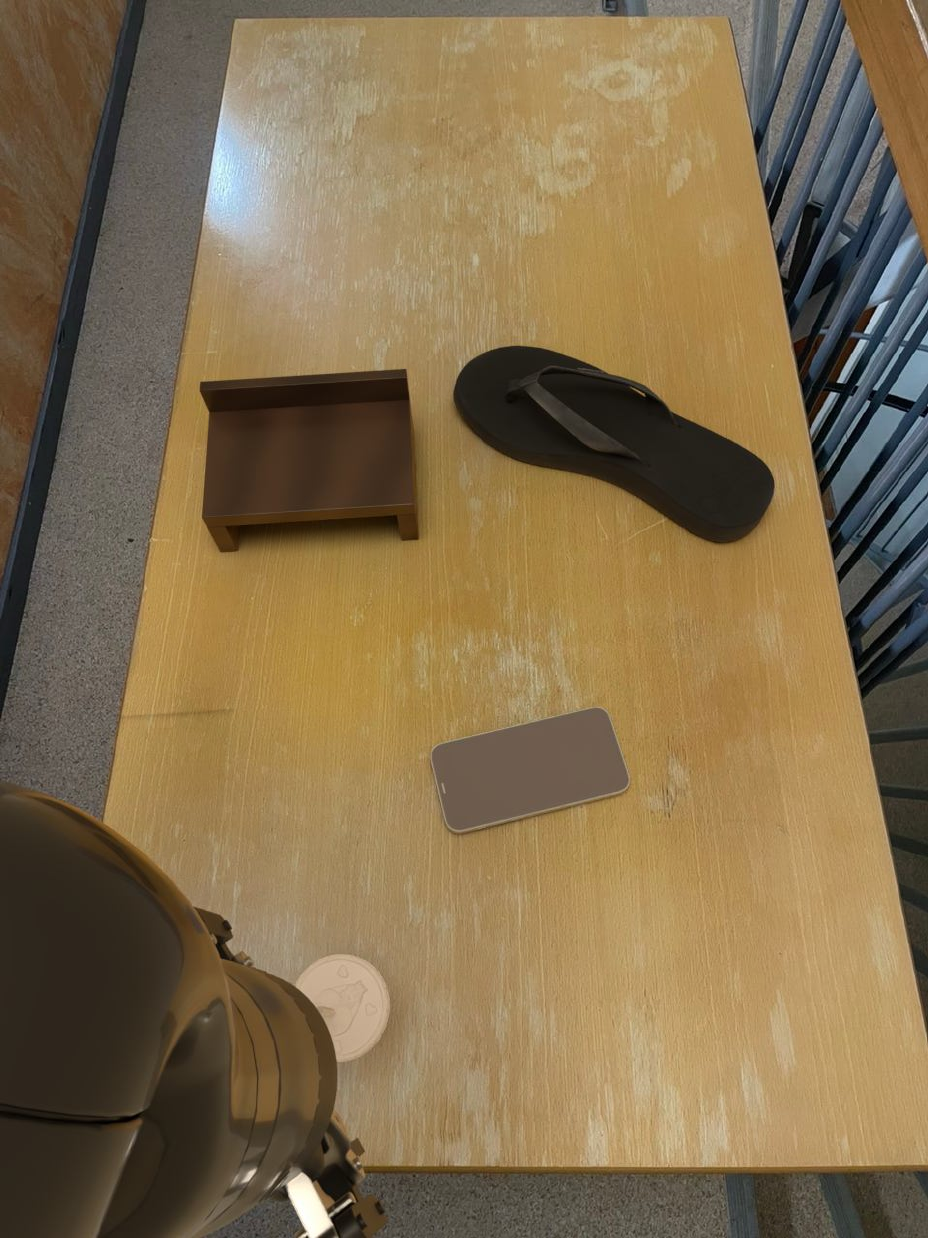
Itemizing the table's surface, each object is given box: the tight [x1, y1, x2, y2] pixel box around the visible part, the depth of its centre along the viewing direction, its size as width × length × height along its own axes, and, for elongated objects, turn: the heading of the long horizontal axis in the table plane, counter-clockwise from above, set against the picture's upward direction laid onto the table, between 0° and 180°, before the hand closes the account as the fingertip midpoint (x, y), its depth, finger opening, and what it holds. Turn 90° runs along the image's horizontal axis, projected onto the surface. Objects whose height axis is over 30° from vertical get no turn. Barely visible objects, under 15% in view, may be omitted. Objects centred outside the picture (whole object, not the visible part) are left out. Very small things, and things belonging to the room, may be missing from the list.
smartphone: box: [429, 706, 631, 835], centre depth 73 cm, size 7×1×15 cm
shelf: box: [199, 368, 420, 553], centre depth 81 cm, size 18×12×9 cm, turn 93°
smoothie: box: [294, 953, 391, 1063], centre depth 60 cm, size 6×6×14 cm
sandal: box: [452, 345, 776, 543], centre depth 84 cm, size 13×31×7 cm, turn 65°
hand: (295, 1073), depth 43 cm, fingers open, 8 cm apart
